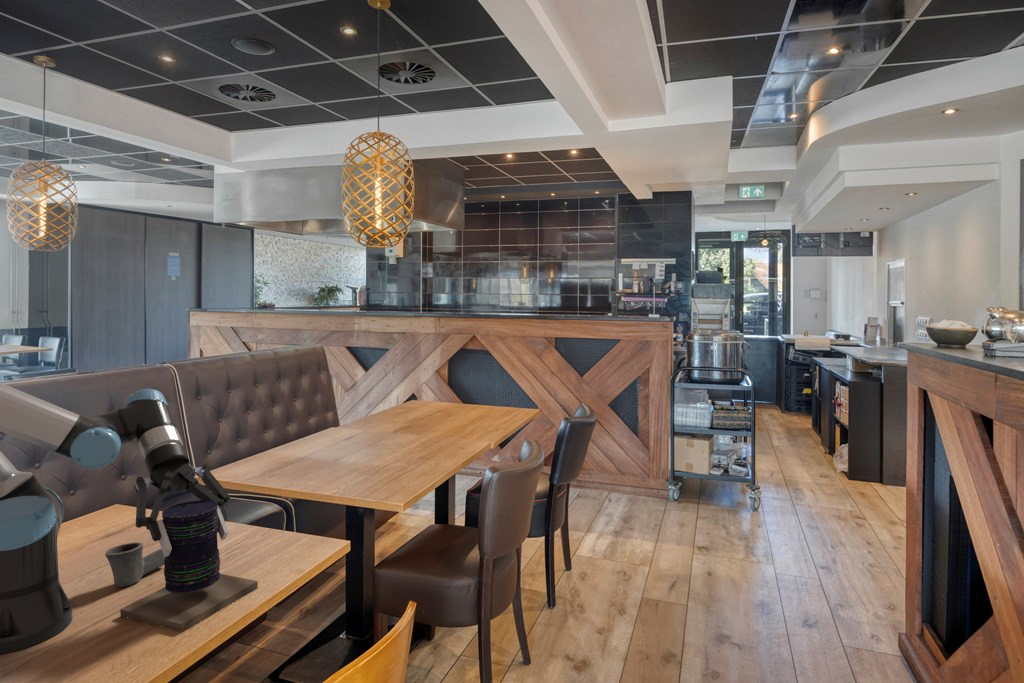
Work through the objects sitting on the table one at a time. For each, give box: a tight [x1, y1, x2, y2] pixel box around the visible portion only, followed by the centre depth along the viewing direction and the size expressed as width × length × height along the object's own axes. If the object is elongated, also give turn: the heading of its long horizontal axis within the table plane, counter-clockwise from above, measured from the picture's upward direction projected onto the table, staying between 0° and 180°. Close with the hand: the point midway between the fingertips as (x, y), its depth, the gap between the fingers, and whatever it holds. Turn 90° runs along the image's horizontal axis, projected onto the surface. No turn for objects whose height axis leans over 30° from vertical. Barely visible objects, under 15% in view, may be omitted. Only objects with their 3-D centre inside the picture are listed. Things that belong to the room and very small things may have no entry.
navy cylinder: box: [161, 500, 221, 593], centre depth 117 cm, size 10×10×15 cm
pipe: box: [104, 541, 165, 588], centre depth 128 cm, size 6×13×8 cm, turn 162°
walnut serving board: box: [119, 573, 259, 633], centre depth 117 cm, size 18×16×2 cm
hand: (197, 544), depth 115 cm, fingers closed on navy cylinder, 10 cm apart
